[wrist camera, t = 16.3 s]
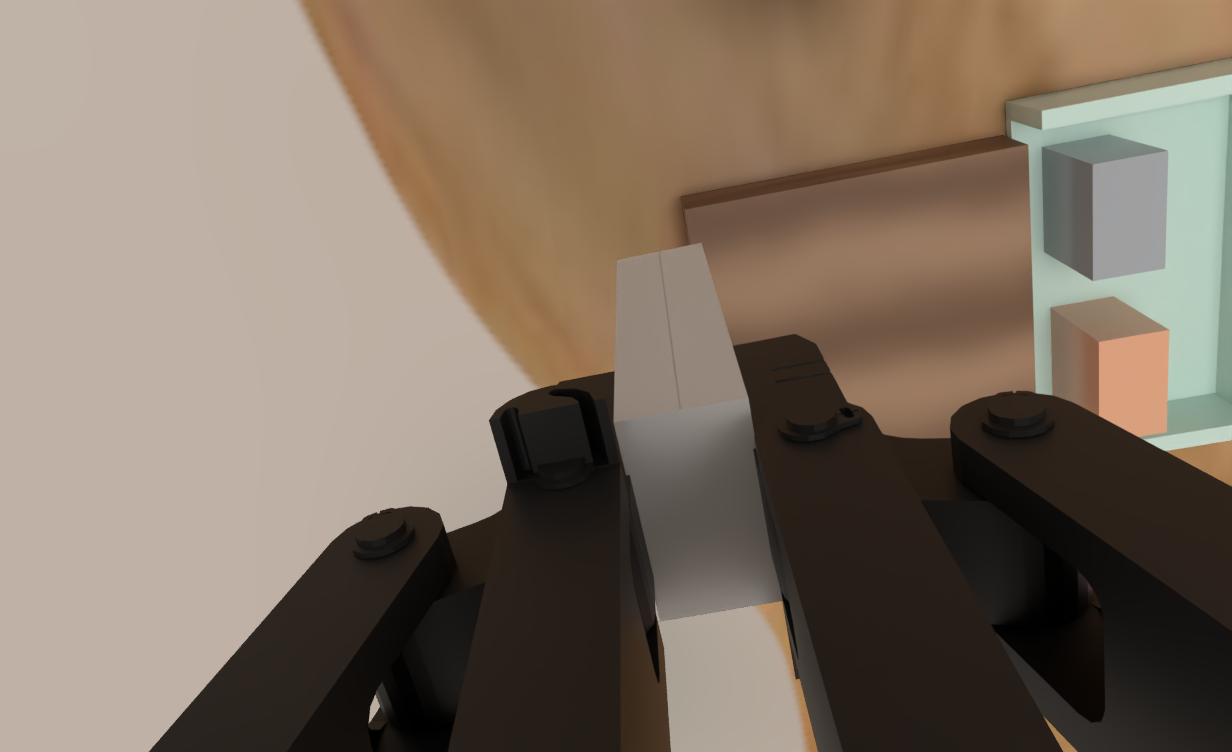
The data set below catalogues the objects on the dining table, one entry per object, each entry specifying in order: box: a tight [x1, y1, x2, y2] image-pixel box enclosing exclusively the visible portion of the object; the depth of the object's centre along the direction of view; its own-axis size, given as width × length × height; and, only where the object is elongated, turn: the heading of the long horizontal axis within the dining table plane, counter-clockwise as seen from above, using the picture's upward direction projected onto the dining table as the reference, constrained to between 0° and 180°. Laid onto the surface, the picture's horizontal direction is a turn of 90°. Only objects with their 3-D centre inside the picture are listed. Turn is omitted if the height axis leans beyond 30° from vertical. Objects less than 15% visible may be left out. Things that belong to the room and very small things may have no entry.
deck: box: [681, 135, 1036, 438], centre depth 45 cm, size 14×15×3 cm
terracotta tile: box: [1050, 296, 1169, 437], centre depth 44 cm, size 5×5×3 cm
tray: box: [1005, 58, 1232, 451], centre depth 44 cm, size 17×10×4 cm, turn 11°
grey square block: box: [1042, 134, 1168, 281], centre depth 41 cm, size 5×5×3 cm
